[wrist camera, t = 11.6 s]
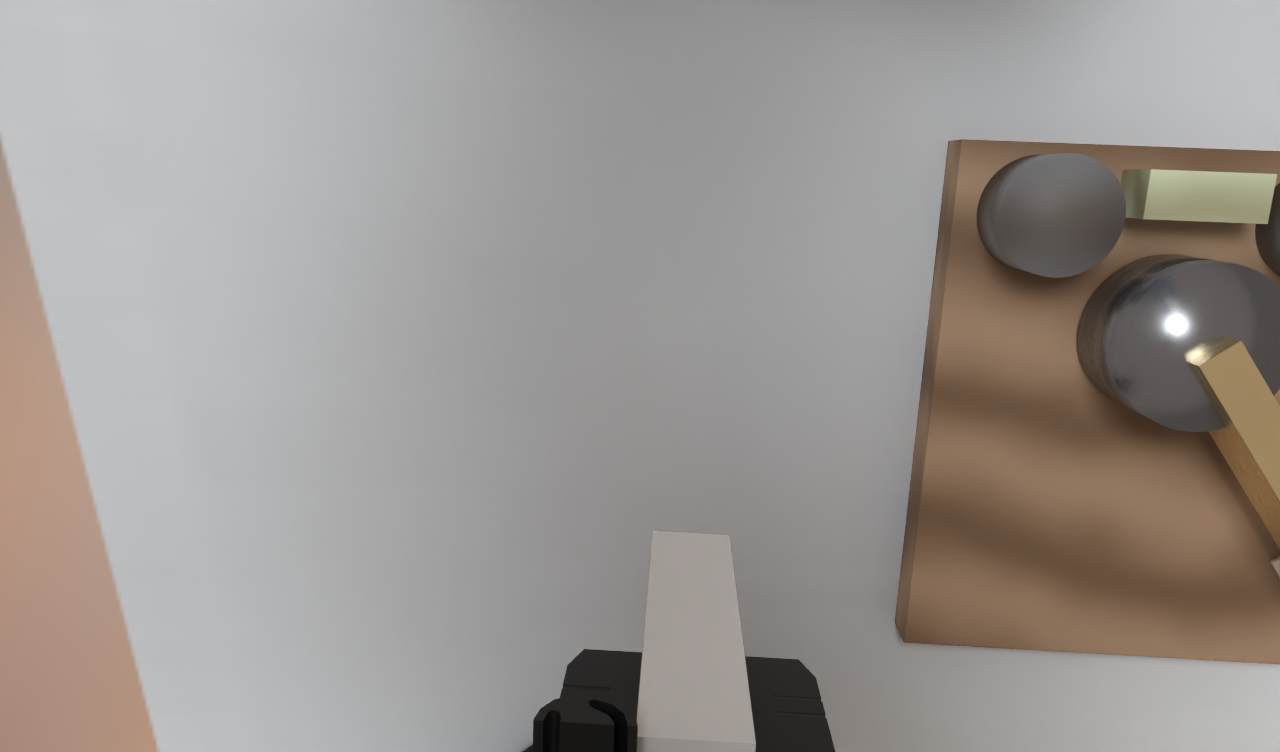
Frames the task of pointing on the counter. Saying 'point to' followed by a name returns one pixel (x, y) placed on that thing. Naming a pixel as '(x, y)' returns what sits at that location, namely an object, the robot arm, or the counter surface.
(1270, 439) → the ball-head mallet
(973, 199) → the instrument base
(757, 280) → the counter surface
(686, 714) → the robot arm
